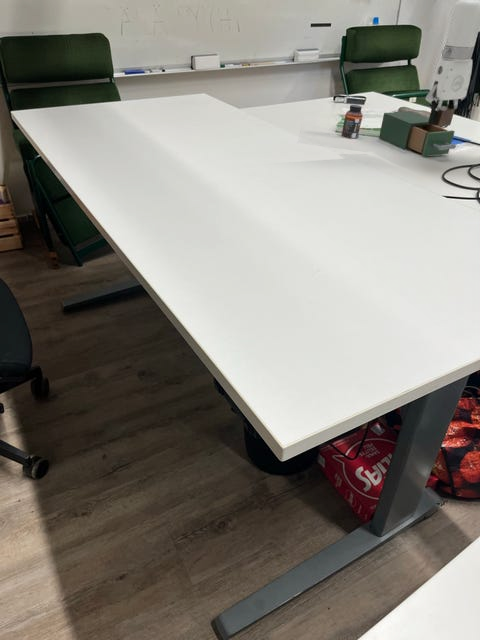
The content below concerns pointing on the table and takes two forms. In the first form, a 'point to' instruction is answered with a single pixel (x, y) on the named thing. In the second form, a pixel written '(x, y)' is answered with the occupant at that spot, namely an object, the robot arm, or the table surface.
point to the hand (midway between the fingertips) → (439, 122)
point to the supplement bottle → (352, 122)
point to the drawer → (430, 140)
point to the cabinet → (400, 127)
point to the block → (445, 116)
